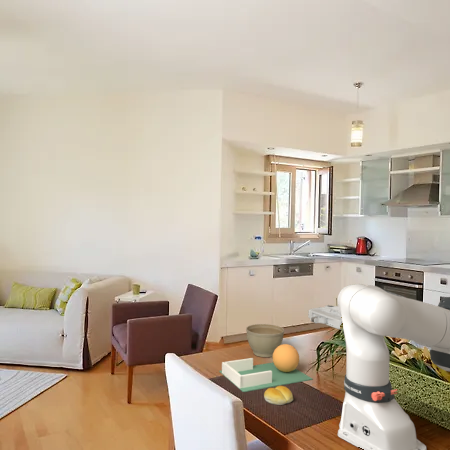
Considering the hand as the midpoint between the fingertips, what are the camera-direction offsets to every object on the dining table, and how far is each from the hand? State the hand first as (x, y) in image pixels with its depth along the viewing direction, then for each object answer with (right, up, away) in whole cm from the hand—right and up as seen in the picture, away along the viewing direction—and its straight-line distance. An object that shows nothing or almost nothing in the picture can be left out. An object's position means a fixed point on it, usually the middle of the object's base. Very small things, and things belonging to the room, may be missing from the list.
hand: (312, 320), depth 158 cm
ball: (-11, -13, -5) cm, 18 cm away
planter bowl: (-17, -18, +15) cm, 29 cm away
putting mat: (-19, -18, -9) cm, 28 cm away
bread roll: (-17, -19, -28) cm, 38 cm away
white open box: (-26, -18, -12) cm, 34 cm away
